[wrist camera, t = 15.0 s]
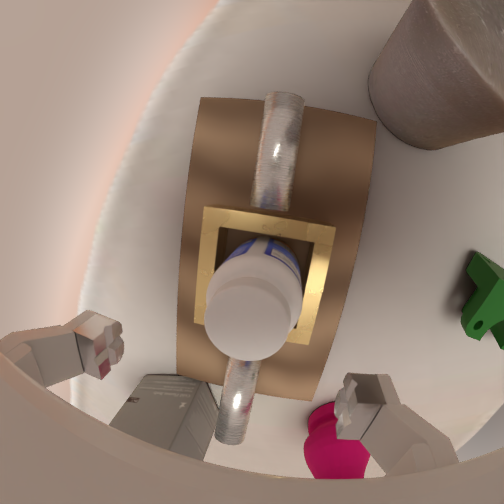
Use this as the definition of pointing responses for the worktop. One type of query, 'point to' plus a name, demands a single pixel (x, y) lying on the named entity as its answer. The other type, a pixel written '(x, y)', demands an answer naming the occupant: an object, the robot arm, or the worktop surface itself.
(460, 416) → the worktop surface
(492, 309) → the clamp
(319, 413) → the pepper mill
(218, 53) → the worktop surface
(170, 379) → the skincare box
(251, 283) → the pill bottle
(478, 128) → the pillar candle
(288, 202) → the shaft stand
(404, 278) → the worktop surface
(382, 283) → the worktop surface
